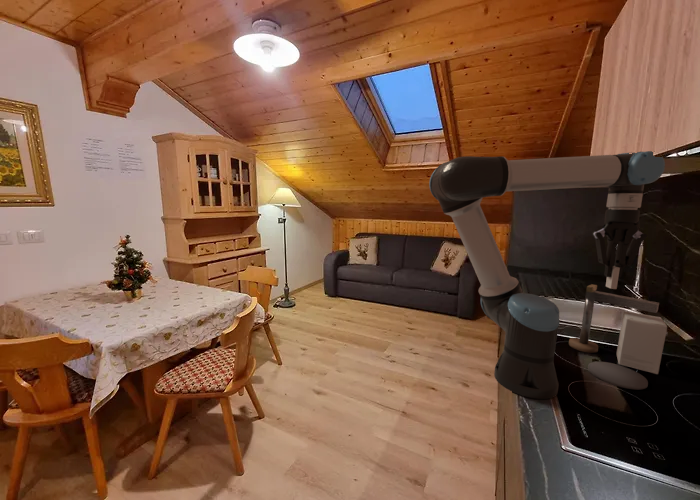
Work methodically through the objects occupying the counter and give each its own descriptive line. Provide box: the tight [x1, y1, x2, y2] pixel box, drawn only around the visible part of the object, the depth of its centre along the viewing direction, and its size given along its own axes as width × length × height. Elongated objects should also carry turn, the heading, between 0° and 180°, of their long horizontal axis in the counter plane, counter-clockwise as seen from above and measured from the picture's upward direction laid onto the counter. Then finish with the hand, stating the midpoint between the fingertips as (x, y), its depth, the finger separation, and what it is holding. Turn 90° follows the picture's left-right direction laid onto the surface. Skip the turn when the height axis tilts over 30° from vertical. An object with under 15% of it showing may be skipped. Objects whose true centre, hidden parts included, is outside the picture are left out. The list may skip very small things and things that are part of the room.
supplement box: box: [616, 310, 668, 375], centre depth 94 cm, size 9×9×15 cm
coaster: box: [587, 361, 649, 391], centre depth 88 cm, size 13×13×1 cm
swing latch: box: [579, 283, 660, 344], centre depth 98 cm, size 17×5×20 cm, turn 39°
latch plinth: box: [568, 337, 599, 354], centre depth 105 cm, size 8×8×2 cm
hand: (611, 287), depth 92 cm, fingers closed
